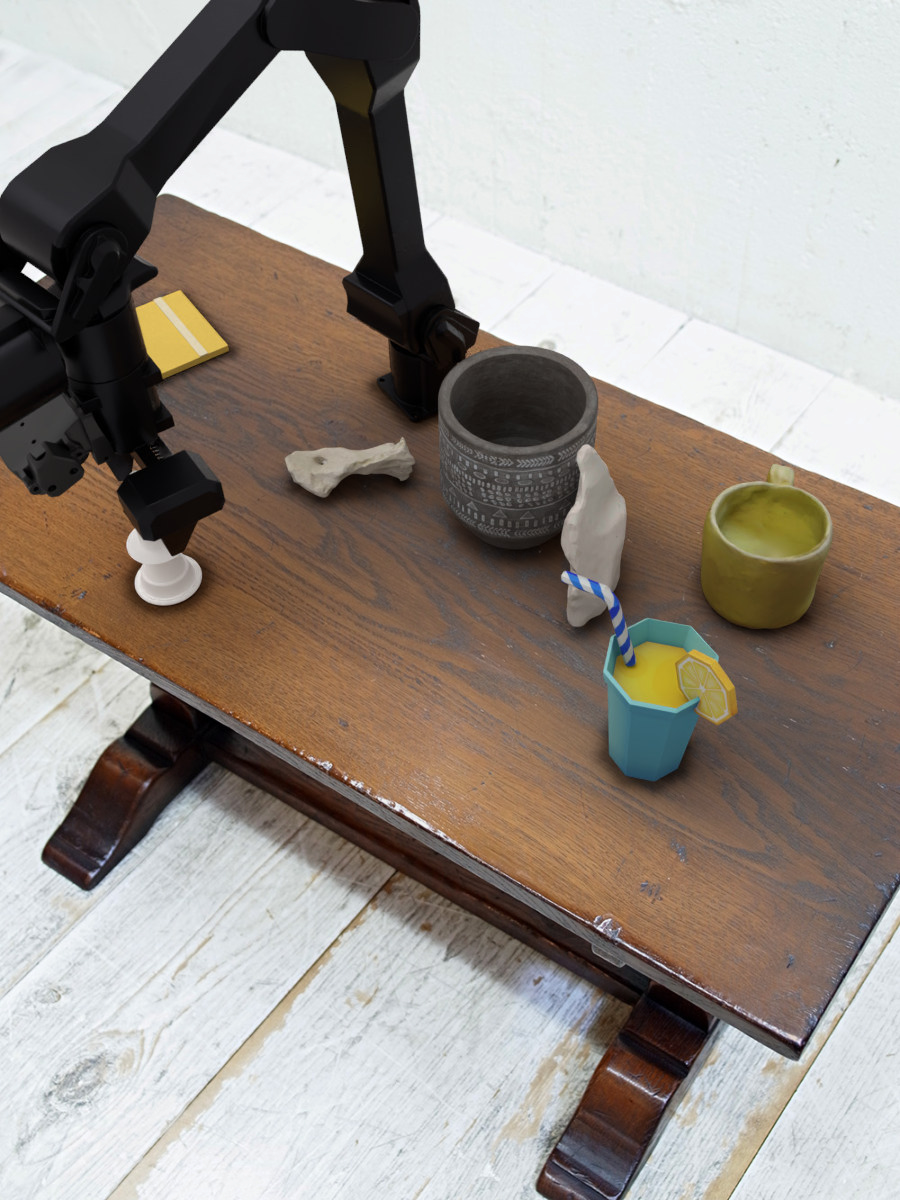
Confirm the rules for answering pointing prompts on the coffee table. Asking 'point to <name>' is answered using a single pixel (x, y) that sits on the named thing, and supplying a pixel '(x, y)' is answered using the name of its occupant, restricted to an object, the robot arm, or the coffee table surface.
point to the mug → (764, 551)
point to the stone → (593, 535)
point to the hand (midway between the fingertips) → (150, 514)
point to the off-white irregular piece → (347, 465)
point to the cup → (656, 688)
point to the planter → (514, 442)
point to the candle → (162, 572)
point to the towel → (177, 334)
